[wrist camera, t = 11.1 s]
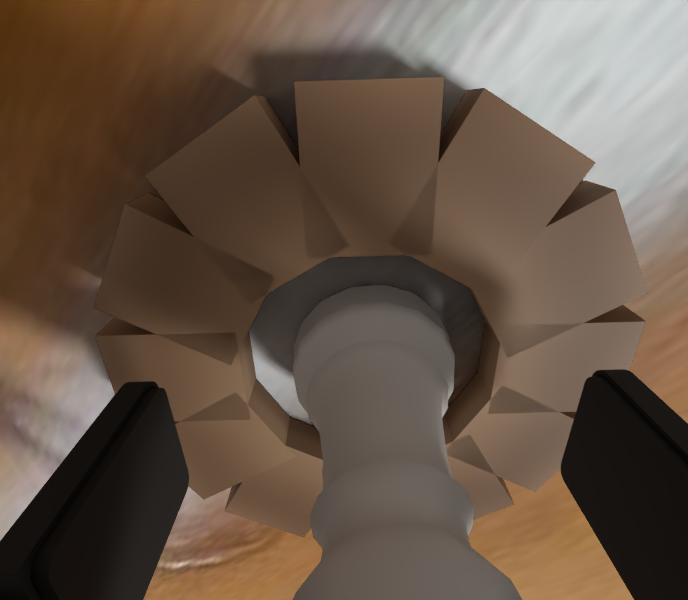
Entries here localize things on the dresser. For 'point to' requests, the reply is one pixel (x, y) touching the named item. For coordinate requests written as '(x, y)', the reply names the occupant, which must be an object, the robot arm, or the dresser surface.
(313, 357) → the rook chess piece
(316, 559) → the dresser surface
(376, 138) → the walnut ring
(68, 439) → the dresser surface
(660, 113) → the dresser surface
